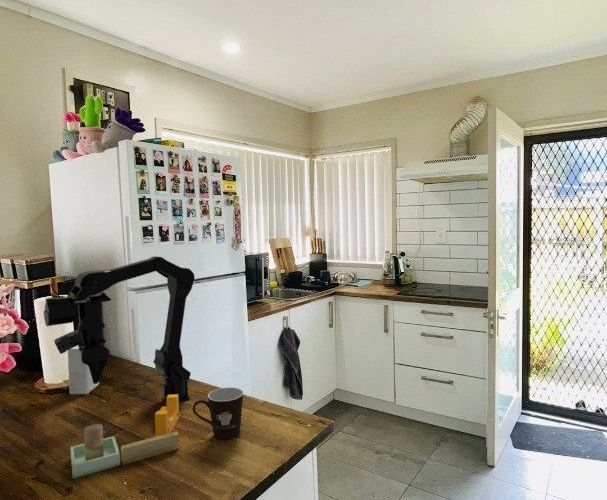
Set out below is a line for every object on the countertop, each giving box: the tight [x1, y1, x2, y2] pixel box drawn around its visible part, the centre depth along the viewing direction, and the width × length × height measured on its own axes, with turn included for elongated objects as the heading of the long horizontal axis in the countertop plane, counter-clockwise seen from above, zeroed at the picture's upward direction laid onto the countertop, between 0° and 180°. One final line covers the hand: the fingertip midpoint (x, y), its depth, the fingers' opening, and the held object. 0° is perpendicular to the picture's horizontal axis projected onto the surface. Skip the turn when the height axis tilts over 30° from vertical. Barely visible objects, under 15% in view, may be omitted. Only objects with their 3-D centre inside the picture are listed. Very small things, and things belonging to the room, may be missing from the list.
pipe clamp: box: [154, 394, 180, 437], centre depth 107 cm, size 12×4×6 cm, turn 3°
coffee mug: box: [192, 386, 244, 441], centre depth 103 cm, size 12×9×10 cm
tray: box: [69, 435, 121, 479], centre depth 92 cm, size 9×9×3 cm
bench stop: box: [120, 431, 180, 466], centre depth 94 cm, size 12×2×4 cm, turn 121°
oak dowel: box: [83, 423, 104, 461], centre depth 92 cm, size 4×4×7 cm
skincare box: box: [67, 345, 100, 395], centre depth 134 cm, size 8×6×15 cm
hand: (94, 378), depth 110 cm, fingers open, 9 cm apart
